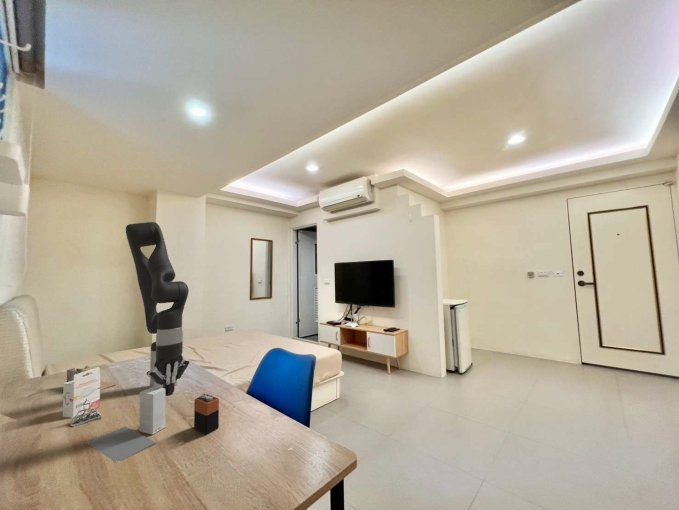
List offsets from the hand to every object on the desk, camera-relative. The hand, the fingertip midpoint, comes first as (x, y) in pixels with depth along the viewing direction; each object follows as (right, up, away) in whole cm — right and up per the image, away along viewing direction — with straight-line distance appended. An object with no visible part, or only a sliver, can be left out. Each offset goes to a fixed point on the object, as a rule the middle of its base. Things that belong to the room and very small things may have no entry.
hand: (168, 394), depth 86 cm
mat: (-7, -8, -13) cm, 17 cm away
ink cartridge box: (-36, -10, +7) cm, 38 cm away
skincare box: (-2, -9, -4) cm, 10 cm away
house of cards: (-29, -10, +3) cm, 31 cm away
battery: (+15, -8, -5) cm, 18 cm away
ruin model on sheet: (-60, -13, +30) cm, 68 cm away
